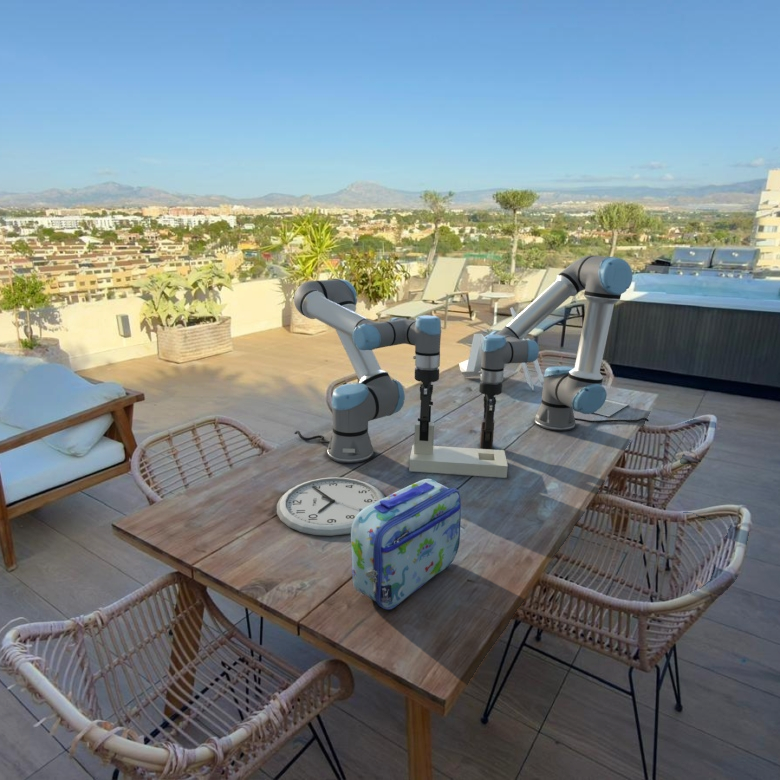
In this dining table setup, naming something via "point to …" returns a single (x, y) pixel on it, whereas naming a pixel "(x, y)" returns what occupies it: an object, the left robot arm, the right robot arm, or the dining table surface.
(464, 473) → the peg board
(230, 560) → the dining table surface
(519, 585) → the dining table surface
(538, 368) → the white plastic object
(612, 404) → the invitation card
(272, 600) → the dining table surface
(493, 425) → the peg
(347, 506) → the wall clock
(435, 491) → the lunch box
